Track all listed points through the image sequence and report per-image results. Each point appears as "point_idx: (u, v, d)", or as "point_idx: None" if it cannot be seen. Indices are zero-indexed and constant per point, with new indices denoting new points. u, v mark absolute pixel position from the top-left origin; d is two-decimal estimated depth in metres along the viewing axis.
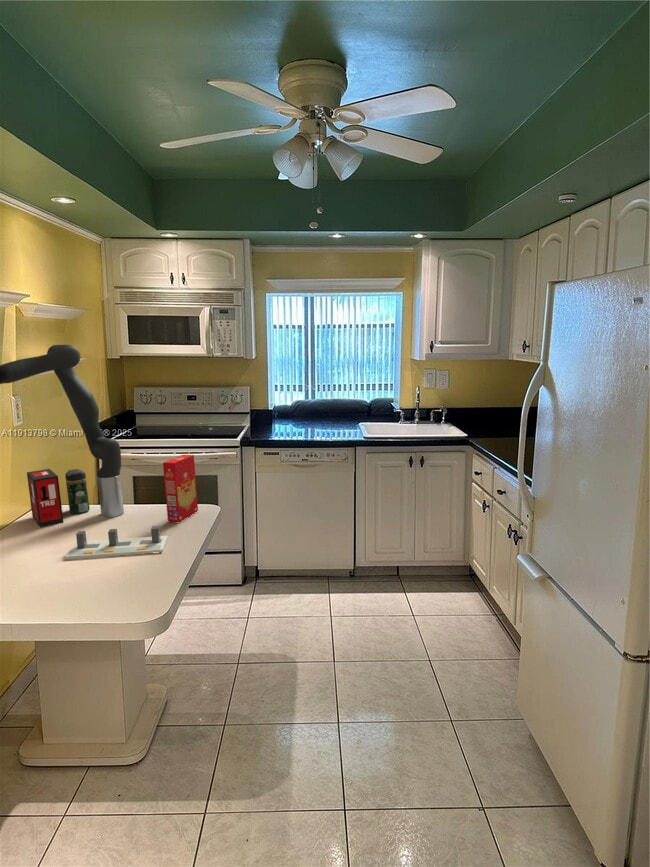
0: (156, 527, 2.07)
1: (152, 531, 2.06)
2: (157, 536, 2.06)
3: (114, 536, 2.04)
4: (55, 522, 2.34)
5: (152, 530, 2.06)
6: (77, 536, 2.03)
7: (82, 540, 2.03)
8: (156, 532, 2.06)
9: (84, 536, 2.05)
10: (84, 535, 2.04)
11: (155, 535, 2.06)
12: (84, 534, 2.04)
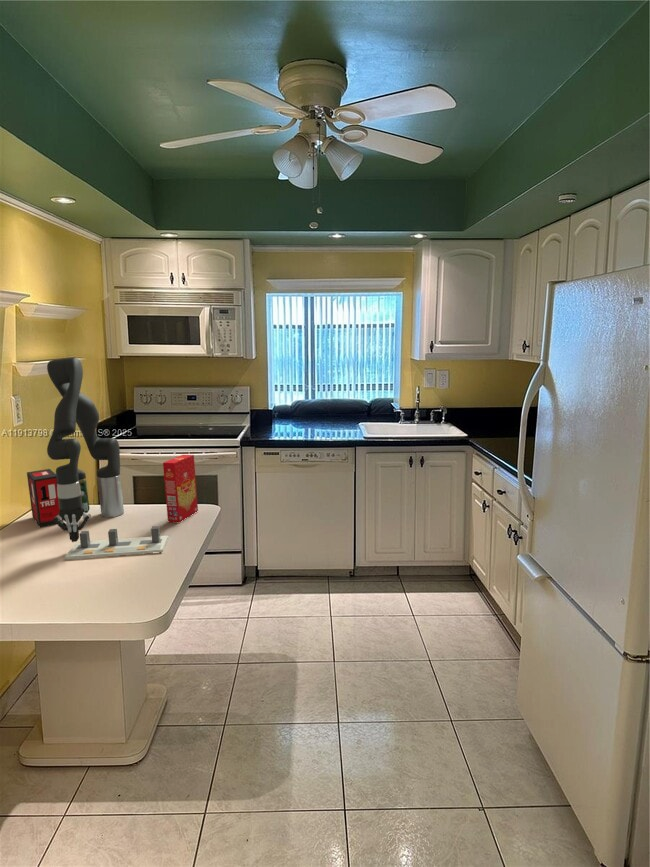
0: (156, 527, 2.07)
1: (152, 531, 2.06)
2: (157, 536, 2.06)
3: (114, 536, 2.04)
4: None
5: (152, 530, 2.06)
6: (80, 536, 2.03)
7: (86, 539, 2.03)
8: (156, 532, 2.06)
9: (88, 536, 2.05)
10: (87, 535, 2.04)
11: (155, 535, 2.06)
12: (87, 534, 2.04)
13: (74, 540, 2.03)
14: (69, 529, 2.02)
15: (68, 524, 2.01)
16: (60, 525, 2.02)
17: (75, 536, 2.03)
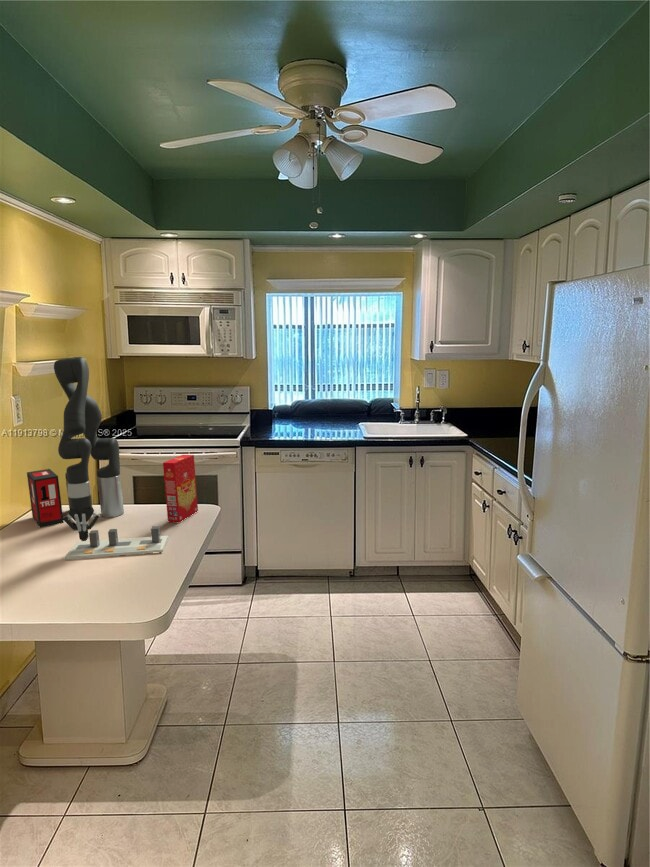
0: (156, 527, 2.07)
1: (152, 531, 2.06)
2: (157, 536, 2.06)
3: (114, 536, 2.04)
4: (55, 522, 2.34)
5: (152, 530, 2.06)
6: (90, 535, 2.03)
7: (95, 539, 2.04)
8: (156, 532, 2.06)
9: (97, 536, 2.05)
10: (97, 534, 2.05)
11: (155, 535, 2.06)
12: (97, 533, 2.05)
13: (83, 539, 2.04)
14: (79, 528, 2.03)
15: (78, 523, 2.02)
16: (70, 524, 2.02)
17: (85, 535, 2.04)
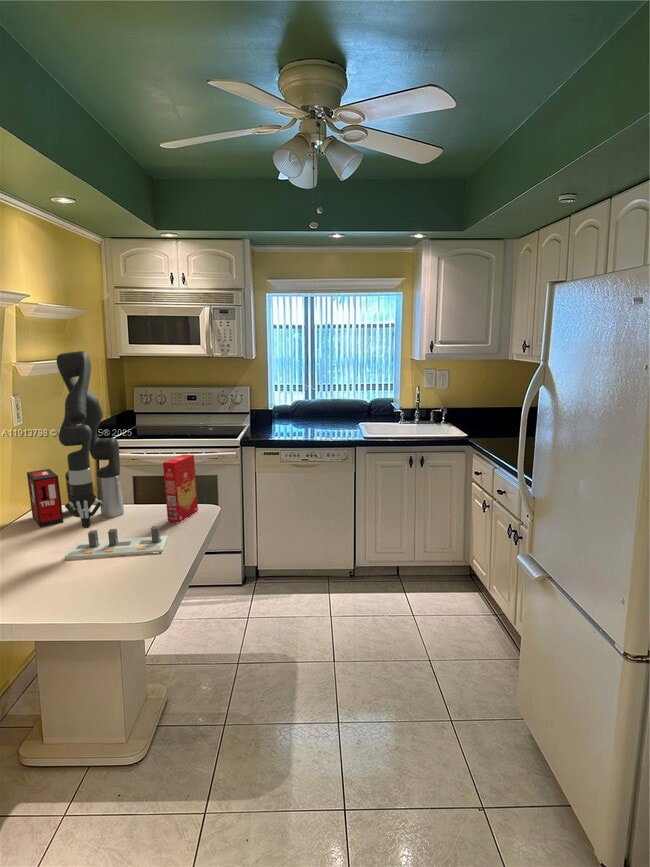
0: (156, 527, 2.07)
1: (152, 531, 2.06)
2: (157, 536, 2.06)
3: (114, 536, 2.04)
4: (55, 522, 2.34)
5: (152, 530, 2.06)
6: (89, 535, 2.03)
7: (94, 539, 2.04)
8: (156, 532, 2.06)
9: (96, 536, 2.05)
10: (96, 534, 2.05)
11: (155, 535, 2.06)
12: (96, 533, 2.05)
13: (86, 526, 2.03)
14: (81, 515, 2.02)
15: (80, 510, 2.01)
16: (72, 511, 2.01)
17: (87, 522, 2.03)
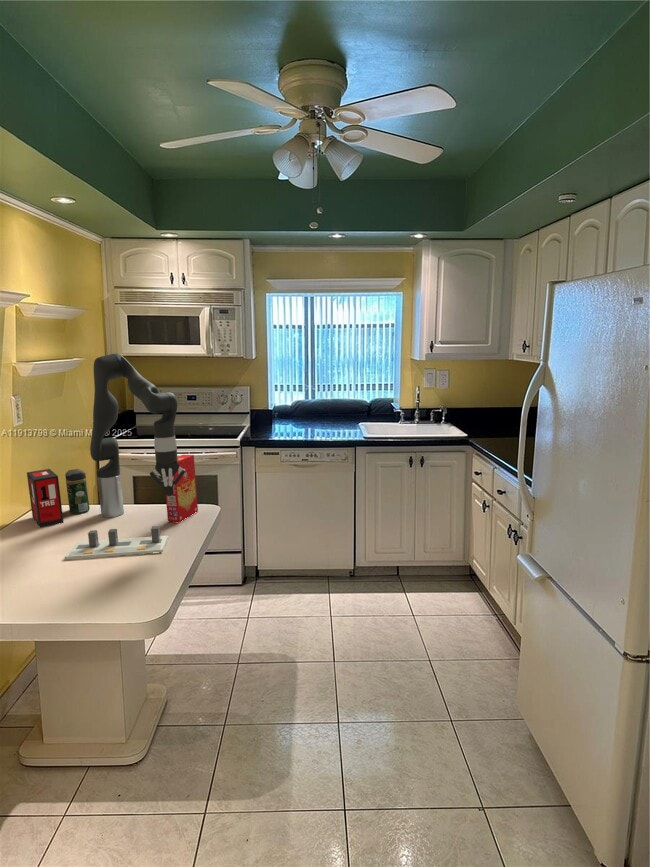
0: (156, 527, 2.07)
1: (152, 531, 2.06)
2: (157, 536, 2.06)
3: (114, 536, 2.04)
4: (55, 522, 2.34)
5: (152, 530, 2.06)
6: (89, 535, 2.03)
7: (94, 539, 2.04)
8: (156, 532, 2.06)
9: (96, 536, 2.05)
10: (96, 534, 2.05)
11: (155, 535, 2.06)
12: (96, 533, 2.05)
13: (170, 494, 2.04)
14: (165, 483, 2.03)
15: (164, 478, 2.03)
16: (156, 479, 2.03)
17: (171, 490, 2.04)
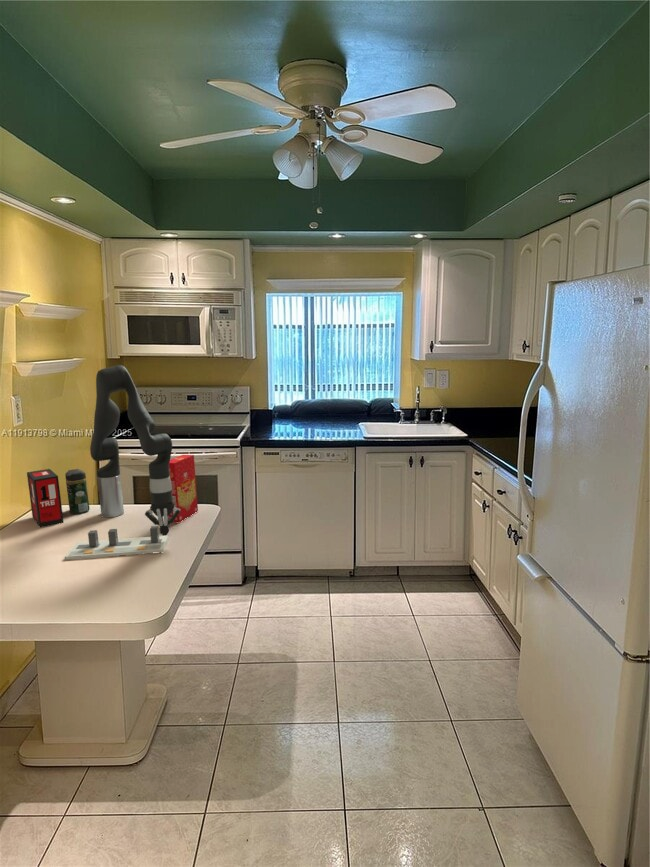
0: (155, 527, 2.07)
1: (151, 531, 2.06)
2: (156, 536, 2.06)
3: (114, 536, 2.04)
4: (55, 522, 2.34)
5: (151, 530, 2.06)
6: (89, 535, 2.03)
7: (94, 539, 2.04)
8: (155, 532, 2.06)
9: (96, 536, 2.05)
10: (96, 534, 2.05)
11: (154, 535, 2.06)
12: (96, 533, 2.05)
13: (165, 534, 2.07)
14: (160, 523, 2.06)
15: (160, 518, 2.05)
16: (152, 519, 2.05)
17: (166, 530, 2.07)
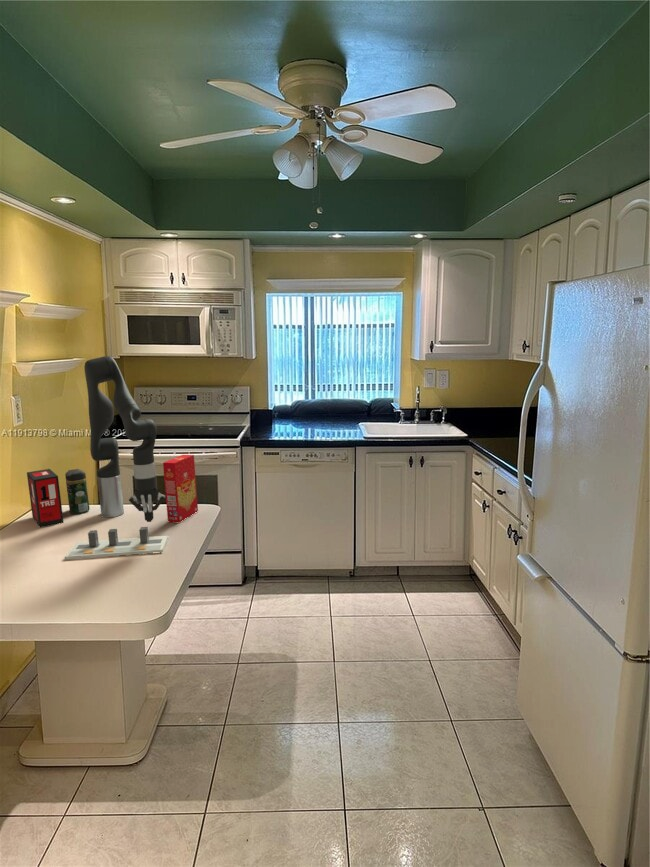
0: (144, 528, 2.06)
1: (141, 532, 2.05)
2: (145, 537, 2.06)
3: (114, 536, 2.04)
4: (55, 522, 2.34)
5: (140, 531, 2.05)
6: (89, 535, 2.03)
7: (94, 539, 2.04)
8: (144, 533, 2.05)
9: (96, 536, 2.05)
10: (96, 534, 2.05)
11: (143, 536, 2.06)
12: (96, 533, 2.05)
13: (149, 520, 2.06)
14: (144, 509, 2.04)
15: (144, 504, 2.04)
16: (136, 505, 2.04)
17: (150, 516, 2.05)
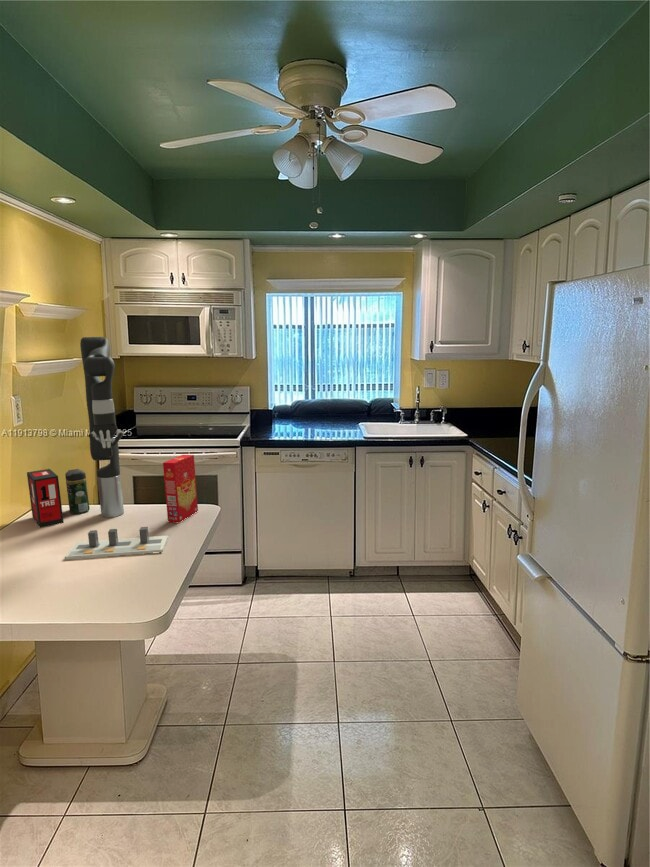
0: (144, 528, 2.06)
1: (141, 532, 2.05)
2: (145, 537, 2.06)
3: (114, 536, 2.04)
4: (55, 522, 2.34)
5: (140, 531, 2.05)
6: (89, 535, 2.03)
7: (94, 539, 2.04)
8: (144, 533, 2.05)
9: (96, 536, 2.05)
10: (96, 534, 2.05)
11: (143, 536, 2.06)
12: (96, 533, 2.05)
13: (108, 456, 2.12)
14: (103, 445, 2.11)
15: (102, 440, 2.10)
16: (95, 441, 2.10)
17: (109, 452, 2.12)
